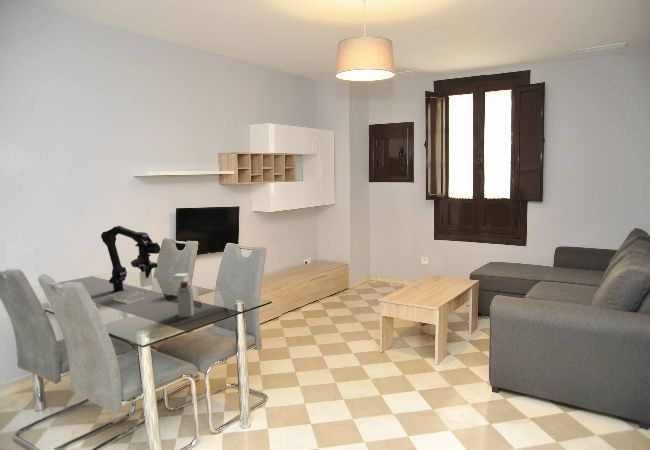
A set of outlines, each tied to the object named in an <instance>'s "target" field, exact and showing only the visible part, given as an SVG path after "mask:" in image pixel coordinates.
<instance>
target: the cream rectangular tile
mask: <svg viewBox="0 0 650 450" xmlns="http://www.w3.org/2000/svg"><path fill="white" fill-rule="evenodd" d="M139 282H140V287H141V288H144V287H149V286H152V285H154V284H153V283H154V282H153V270H151V272H150V275H149V277H148V278H146V274H145V271H144V272H141V271H139Z"/></svg>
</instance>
